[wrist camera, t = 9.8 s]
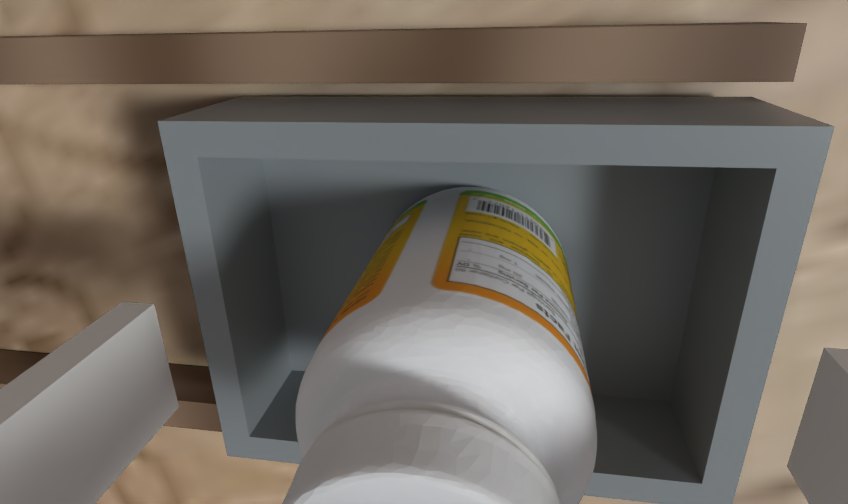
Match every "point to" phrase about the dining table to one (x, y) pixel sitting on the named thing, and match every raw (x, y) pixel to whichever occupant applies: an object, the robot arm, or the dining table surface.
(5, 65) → the bay
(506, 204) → the supplement bottle
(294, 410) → the box
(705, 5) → the dining table surface
